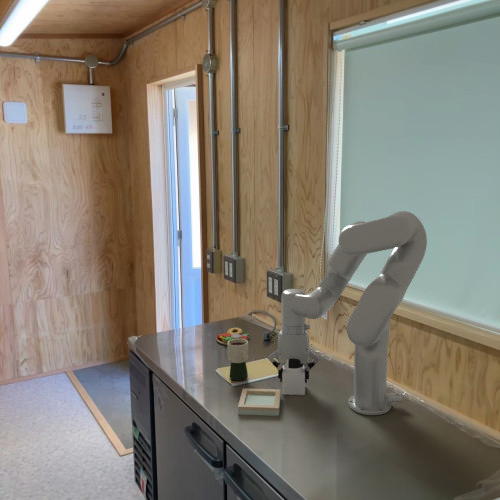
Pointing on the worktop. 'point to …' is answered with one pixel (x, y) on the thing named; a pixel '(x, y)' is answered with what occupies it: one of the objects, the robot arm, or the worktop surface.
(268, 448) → the worktop surface
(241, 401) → the beige square tray
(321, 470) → the worktop surface
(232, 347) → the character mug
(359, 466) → the worktop surface
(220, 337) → the toy food set
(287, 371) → the medicine bottle
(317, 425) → the worktop surface
